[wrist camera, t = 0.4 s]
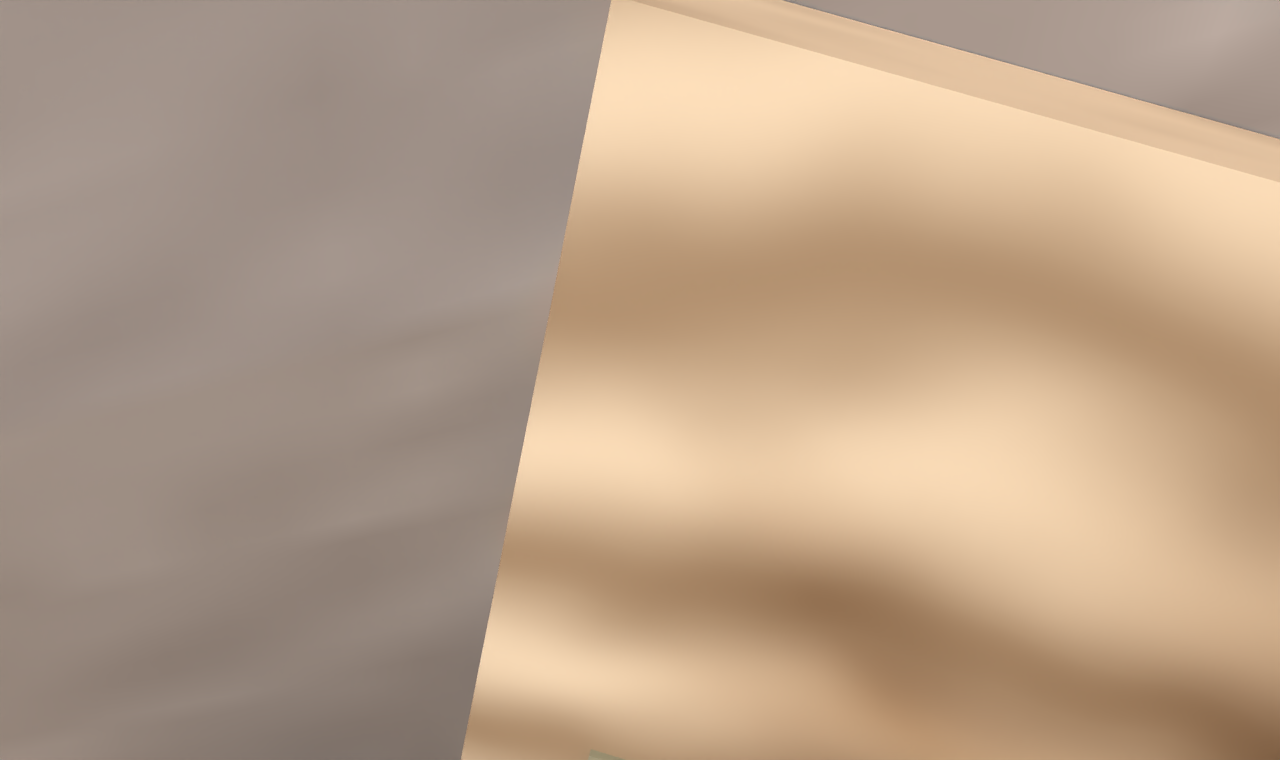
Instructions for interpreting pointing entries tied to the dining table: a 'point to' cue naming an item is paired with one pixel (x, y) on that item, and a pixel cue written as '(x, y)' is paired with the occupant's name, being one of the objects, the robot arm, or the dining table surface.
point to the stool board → (893, 415)
